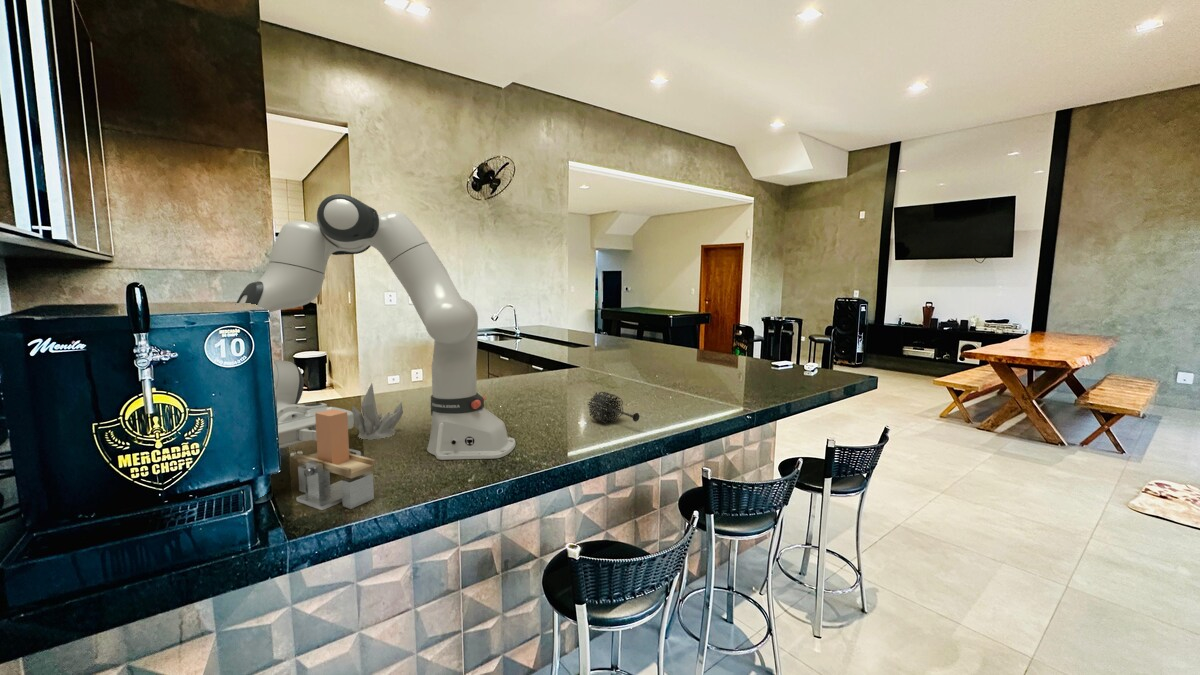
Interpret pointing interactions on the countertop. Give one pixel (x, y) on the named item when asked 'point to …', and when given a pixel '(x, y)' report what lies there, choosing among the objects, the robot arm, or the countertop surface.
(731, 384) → the countertop surface
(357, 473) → the beam
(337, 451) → the block
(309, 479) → the fulcrum
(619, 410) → the massage brush
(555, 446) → the countertop surface
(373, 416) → the crystal
